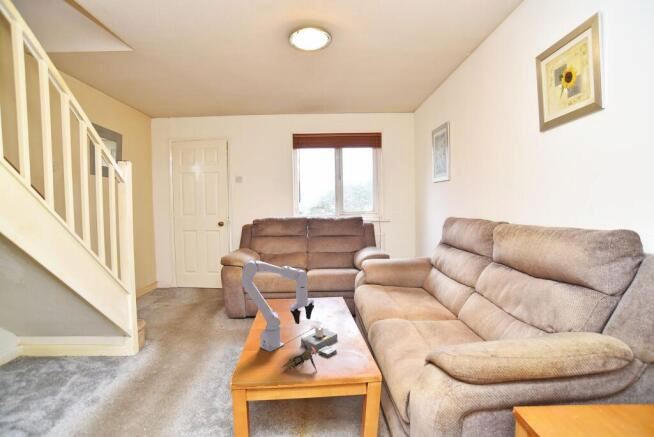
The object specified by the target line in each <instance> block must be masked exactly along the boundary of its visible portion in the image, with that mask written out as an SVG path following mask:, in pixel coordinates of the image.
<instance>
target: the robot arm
mask: <svg viewBox="0 0 654 437" xmlns="http://www.w3.org/2000/svg"><path fill="white" fill-rule="evenodd" d="M242 266H243V267H242V270H241V285H242V287H243V289H244V290H245V291H246V293H247V294H248V295H249V297H250V298H251V300H252V301H253V303H254V304H255V306H256V307H257V309H258V310H259V311H260V313H261V314H262V316H263V319H264V320H265V322H266V325H265V329H263V331H261V333H260V337H259V338H260V340H259V341H260V345H259V348H261V349H263V350H265V351H268V352H273V351H274V350H275V349H276V348H278V347H279V348H281V347H283V346H285V345H284V344H285V343H284V342H281V341H282V337H281V334H282V333H281V332H282V331H281V330H282V329H281V320H280V317H279V314H278V312H276V311H274V309H273V308H272V307H271V306H270V305H269V304H268V302H267V301H266V300H265V298H264V297H263V295H262V293H261V292H260V290H259V289H258V287H257V286H256V284H255V283H254V282H253V281H254V278H255V276H256V274H257V272H258V273H261V272H269V273H274V274H278V275H280V277H281V278H284V279H286V280H290V281H295V283H296V284H295V294H296V295H295V296H296V298H295V299H296V303H294V304H292V305H291V306H289V309H290V310H289V311H290V313H291V315H292V316H293V320H294V322H295V324H296V325H300V317H301V312H302V310H299V309H301V308H304V310H305V318H306V320H311V316H312V312H313V310H314V308H315V304H314V303H315V300H314V299H311V298H310V299H309V298H308V296H309V295H308V280H309V276H308V274H307V272H306V271H305V270H304V269H303V270H302V269H300V268H294V267H291V266H290V265H284V266H282V267H280V266H277V265H275V264H274V265H273V264H271V263H267V262H264V261H261V260H254V259H247V260H246V261H245V262H244V264H243V265H242ZM282 345H283V346H282ZM280 346H281V347H280ZM279 348H278V349H279ZM276 350H277V349H276Z"/></svg>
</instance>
